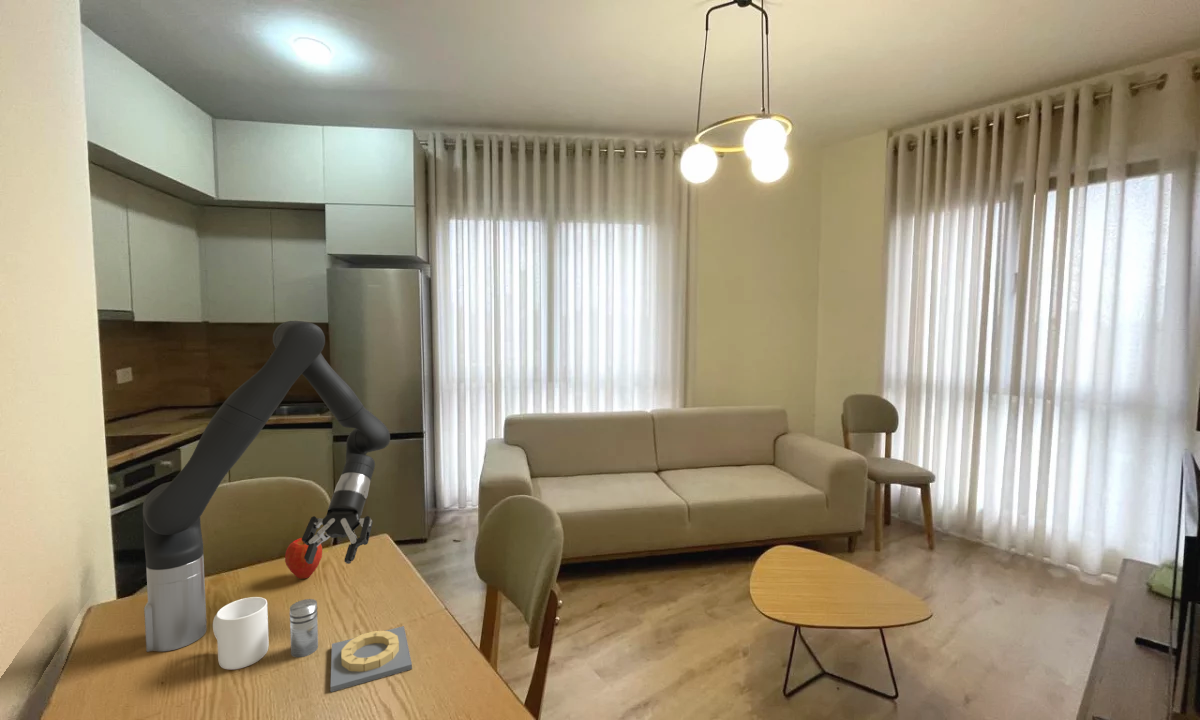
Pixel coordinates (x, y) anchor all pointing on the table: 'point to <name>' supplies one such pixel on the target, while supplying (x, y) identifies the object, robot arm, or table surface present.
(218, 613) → the mug
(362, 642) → the ring block
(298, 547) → the apple
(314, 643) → the piston
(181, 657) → the table surface
